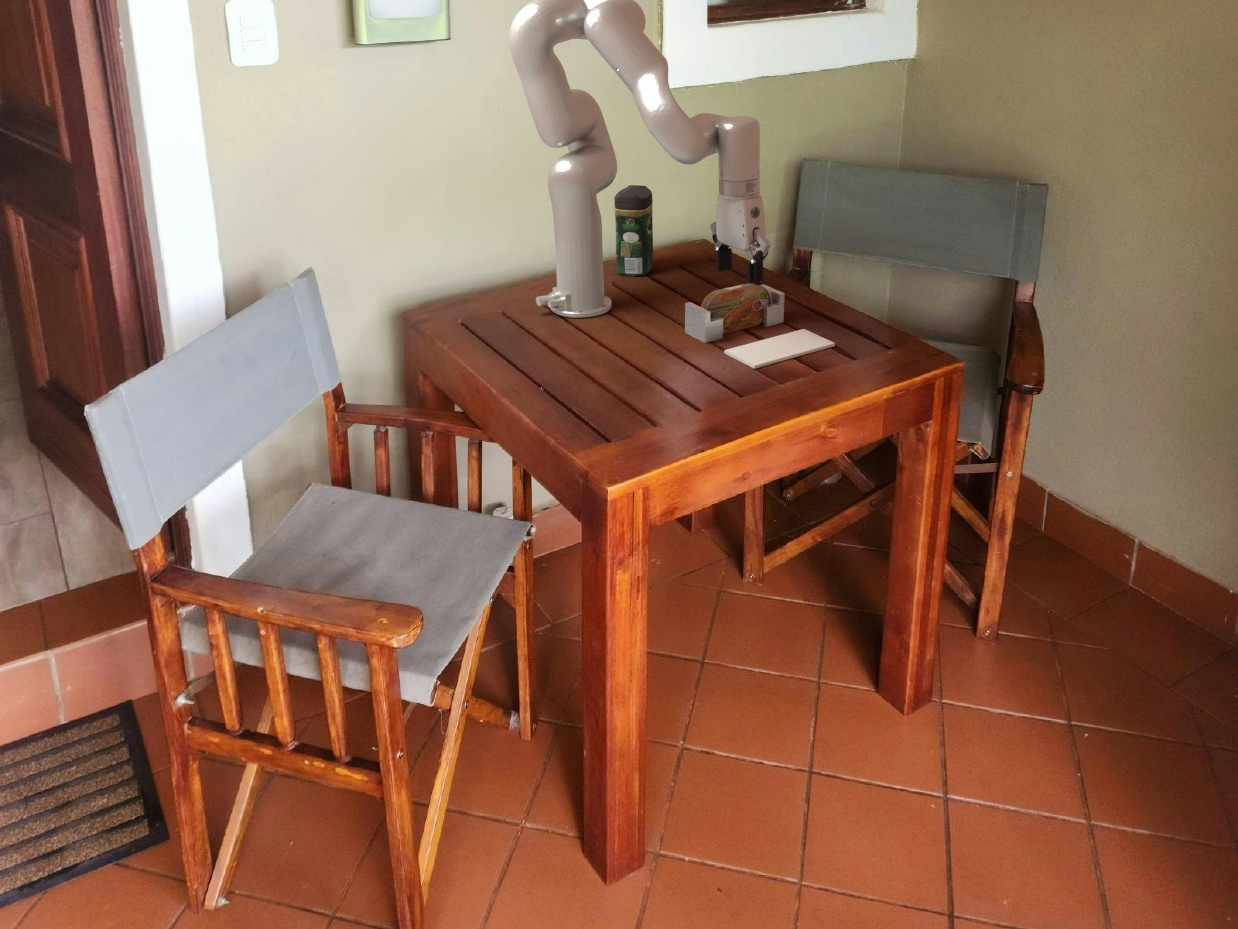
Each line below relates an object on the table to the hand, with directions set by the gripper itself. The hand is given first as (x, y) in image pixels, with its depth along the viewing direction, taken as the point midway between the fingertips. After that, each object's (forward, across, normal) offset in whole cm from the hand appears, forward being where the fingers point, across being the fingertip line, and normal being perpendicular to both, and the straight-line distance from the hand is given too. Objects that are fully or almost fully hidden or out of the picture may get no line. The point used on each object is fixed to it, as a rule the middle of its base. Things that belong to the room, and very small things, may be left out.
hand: (739, 275), depth 225 cm
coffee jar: (+10, +42, -2) cm, 43 cm away
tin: (+11, +1, +1) cm, 11 cm away
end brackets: (+11, +1, +1) cm, 11 cm away
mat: (+11, -13, +1) cm, 17 cm away
